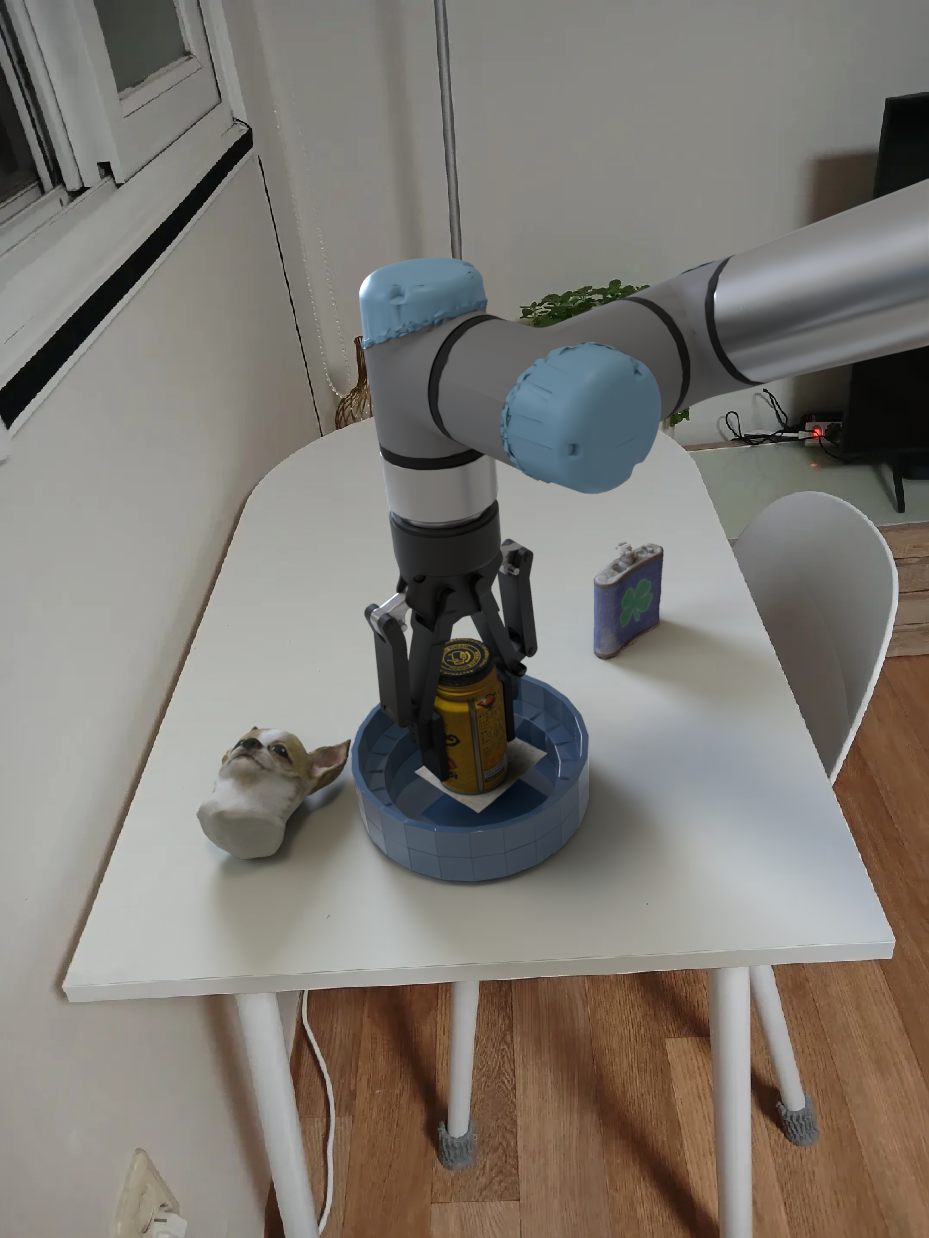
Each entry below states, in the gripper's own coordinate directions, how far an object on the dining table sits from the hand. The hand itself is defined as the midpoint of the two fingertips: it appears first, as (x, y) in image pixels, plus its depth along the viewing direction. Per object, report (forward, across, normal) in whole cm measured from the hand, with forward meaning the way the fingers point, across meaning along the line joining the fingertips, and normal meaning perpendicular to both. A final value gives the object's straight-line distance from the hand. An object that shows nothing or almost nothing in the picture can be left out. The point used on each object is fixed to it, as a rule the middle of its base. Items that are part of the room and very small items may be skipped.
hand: (469, 751), depth 78 cm
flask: (+5, -25, -7) cm, 26 cm away
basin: (+5, 0, 0) cm, 5 cm away
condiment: (+2, -1, 0) cm, 2 cm away
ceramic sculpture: (+5, +14, -10) cm, 18 cm away
